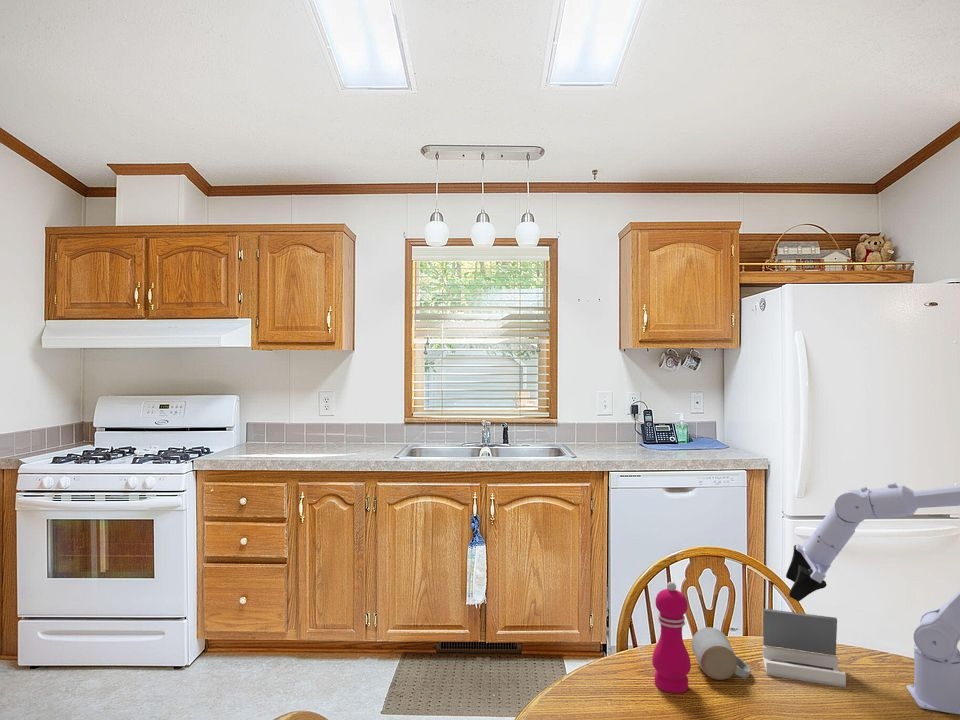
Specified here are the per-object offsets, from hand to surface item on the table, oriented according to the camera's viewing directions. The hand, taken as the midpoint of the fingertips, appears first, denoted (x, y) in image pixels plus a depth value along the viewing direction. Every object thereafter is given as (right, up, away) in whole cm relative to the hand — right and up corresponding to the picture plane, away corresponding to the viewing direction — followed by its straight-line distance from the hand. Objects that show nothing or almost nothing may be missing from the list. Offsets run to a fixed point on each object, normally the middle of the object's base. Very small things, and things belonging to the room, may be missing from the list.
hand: (792, 588), depth 130 cm
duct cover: (0, -8, -3) cm, 9 cm away
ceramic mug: (-18, -15, -6) cm, 24 cm away
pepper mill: (-30, -15, -12) cm, 35 cm away
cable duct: (-1, -15, -6) cm, 16 cm away
